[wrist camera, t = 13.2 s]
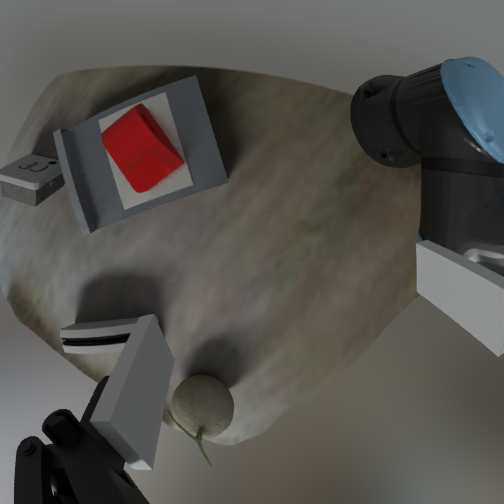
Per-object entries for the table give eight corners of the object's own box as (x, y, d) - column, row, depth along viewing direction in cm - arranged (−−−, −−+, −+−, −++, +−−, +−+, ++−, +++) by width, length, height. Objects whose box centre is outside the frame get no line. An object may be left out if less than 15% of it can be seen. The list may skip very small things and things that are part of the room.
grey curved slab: (83, 347, 44) (55, 361, 34) (78, 322, 44) (47, 331, 34) (165, 340, 45) (148, 358, 35) (160, 313, 45) (141, 324, 35)
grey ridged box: (199, 88, 34) (194, 69, 27) (227, 180, 39) (229, 183, 31) (80, 137, 34) (52, 132, 26) (106, 223, 38) (82, 236, 31)
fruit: (189, 351, 46) (181, 416, 31) (243, 380, 49) (252, 443, 34) (160, 385, 47) (148, 446, 33) (212, 410, 50) (212, 470, 36)
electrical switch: (73, 162, 35) (38, 170, 27) (68, 195, 37) (34, 210, 28) (31, 153, 33) (-5, 160, 25) (27, 183, 35) (-8, 196, 27)
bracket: (105, 139, 29) (66, 131, 20) (145, 106, 29) (118, 85, 19) (143, 195, 32) (114, 206, 22) (185, 163, 31) (170, 160, 22)
